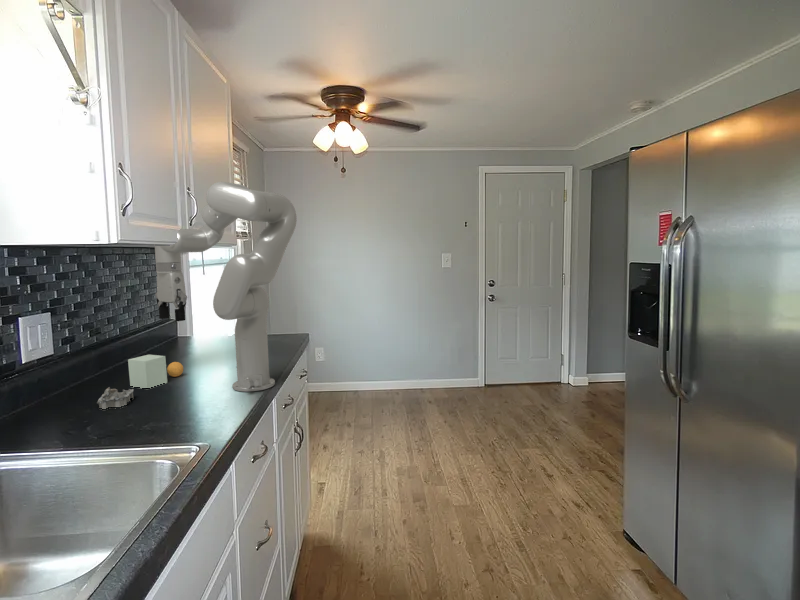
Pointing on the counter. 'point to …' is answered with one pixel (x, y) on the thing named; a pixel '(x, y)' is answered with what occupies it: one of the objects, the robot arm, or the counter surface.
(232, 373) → the counter surface
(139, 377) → the pale green cube
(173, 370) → the ball
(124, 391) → the egg carton
